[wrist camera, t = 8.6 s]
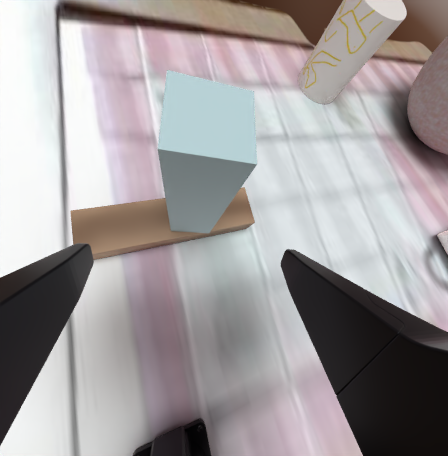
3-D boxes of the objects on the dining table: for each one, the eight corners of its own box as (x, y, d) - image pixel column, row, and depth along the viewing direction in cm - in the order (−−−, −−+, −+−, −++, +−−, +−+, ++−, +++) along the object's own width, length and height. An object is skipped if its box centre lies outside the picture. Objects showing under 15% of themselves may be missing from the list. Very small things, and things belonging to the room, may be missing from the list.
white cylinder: (291, 69, 35) (345, -30, 24) (325, 70, 37) (388, -20, 26) (308, 104, 34) (373, 17, 22) (341, 103, 36) (416, 23, 25)
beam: (246, 228, 25) (254, 222, 22) (89, 260, 19) (74, 257, 17) (237, 197, 25) (244, 187, 23) (85, 220, 20) (70, 210, 18)
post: (209, 233, 20) (257, 164, 8) (170, 231, 19) (157, 149, 7) (210, 199, 21) (253, 91, 9) (173, 195, 20) (167, 69, 8)
